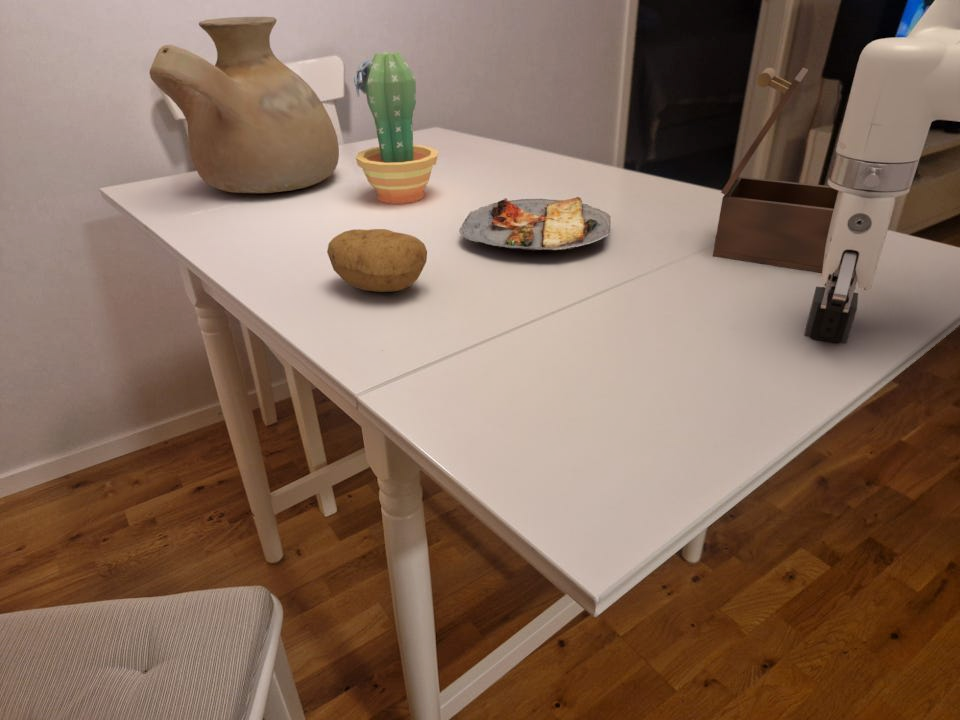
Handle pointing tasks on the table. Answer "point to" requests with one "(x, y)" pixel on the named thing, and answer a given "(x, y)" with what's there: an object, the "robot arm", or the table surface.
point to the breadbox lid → (788, 89)
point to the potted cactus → (393, 131)
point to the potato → (377, 259)
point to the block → (817, 301)
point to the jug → (248, 111)
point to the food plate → (537, 224)
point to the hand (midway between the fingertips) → (827, 328)
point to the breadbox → (775, 223)
